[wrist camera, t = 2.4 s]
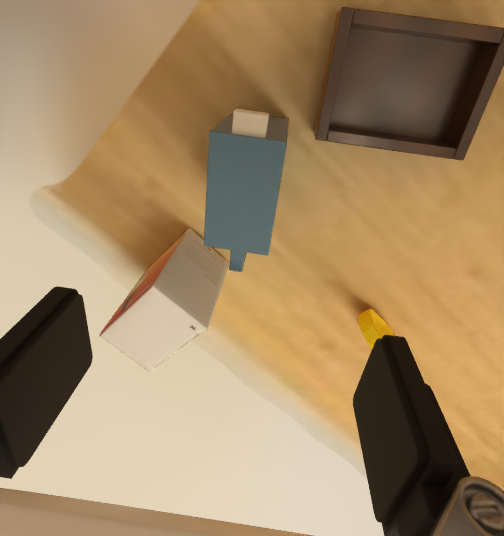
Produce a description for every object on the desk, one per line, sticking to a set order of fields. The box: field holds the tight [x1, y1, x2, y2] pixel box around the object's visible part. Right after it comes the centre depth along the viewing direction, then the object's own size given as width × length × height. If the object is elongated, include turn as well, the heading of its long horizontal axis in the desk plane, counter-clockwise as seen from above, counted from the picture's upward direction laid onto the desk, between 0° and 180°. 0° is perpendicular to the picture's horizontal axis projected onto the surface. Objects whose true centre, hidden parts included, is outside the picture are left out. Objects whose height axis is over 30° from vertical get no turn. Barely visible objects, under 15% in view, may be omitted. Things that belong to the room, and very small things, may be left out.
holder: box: [314, 7, 504, 160], centre depth 25 cm, size 11×8×3 cm
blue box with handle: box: [204, 109, 289, 272], centre depth 26 cm, size 4×11×10 cm, turn 173°
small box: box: [100, 228, 229, 372], centre depth 32 cm, size 8×6×10 cm
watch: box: [358, 309, 395, 349], centre depth 35 cm, size 6×3×6 cm, turn 43°
